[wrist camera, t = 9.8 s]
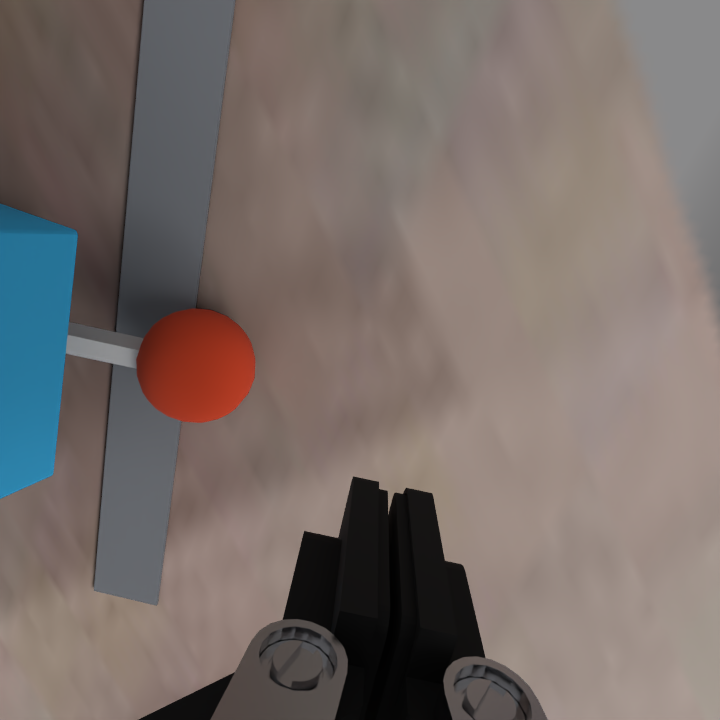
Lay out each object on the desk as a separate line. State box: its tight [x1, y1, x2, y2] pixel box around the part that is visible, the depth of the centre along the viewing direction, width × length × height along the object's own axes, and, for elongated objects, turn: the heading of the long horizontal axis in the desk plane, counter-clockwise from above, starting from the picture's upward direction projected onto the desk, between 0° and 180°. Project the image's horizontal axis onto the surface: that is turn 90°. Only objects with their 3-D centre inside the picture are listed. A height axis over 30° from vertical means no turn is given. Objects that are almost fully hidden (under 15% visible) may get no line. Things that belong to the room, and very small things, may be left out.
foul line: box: [94, 0, 235, 606], centre depth 18 cm, size 23×2×1 cm, turn 168°
